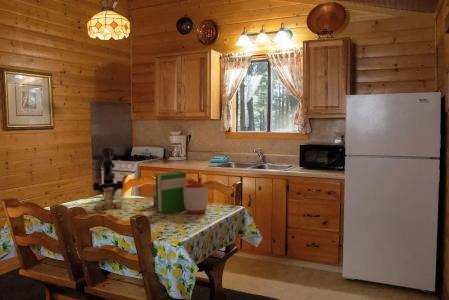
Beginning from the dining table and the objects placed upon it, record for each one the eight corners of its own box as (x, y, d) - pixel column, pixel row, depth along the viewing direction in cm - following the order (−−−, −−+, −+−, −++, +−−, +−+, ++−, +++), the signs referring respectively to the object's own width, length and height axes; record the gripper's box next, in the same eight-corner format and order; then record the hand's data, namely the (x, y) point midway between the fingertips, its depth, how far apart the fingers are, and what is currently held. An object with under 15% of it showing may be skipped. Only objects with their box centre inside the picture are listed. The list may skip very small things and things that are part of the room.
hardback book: (162, 214, 237) (161, 175, 235) (156, 212, 242) (155, 174, 241) (186, 209, 247) (185, 172, 246) (180, 207, 253) (179, 171, 251)
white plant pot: (215, 211, 242) (215, 179, 240) (193, 216, 230) (192, 183, 229) (200, 207, 253) (199, 177, 252) (178, 212, 242) (177, 180, 240)
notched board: (97, 205, 264) (97, 202, 264) (121, 203, 268) (121, 201, 268) (95, 210, 249) (95, 207, 249) (121, 208, 253) (121, 206, 253)
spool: (106, 206, 259) (106, 187, 257) (115, 206, 258) (115, 187, 256) (102, 208, 252) (101, 189, 251) (111, 209, 251) (110, 189, 250)
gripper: (92, 170, 254) (92, 189, 244) (122, 168, 259) (123, 188, 250) (93, 180, 262) (93, 199, 253) (122, 178, 267) (123, 197, 258)
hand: (108, 196), depth 253 cm, fingers open, 6 cm apart
